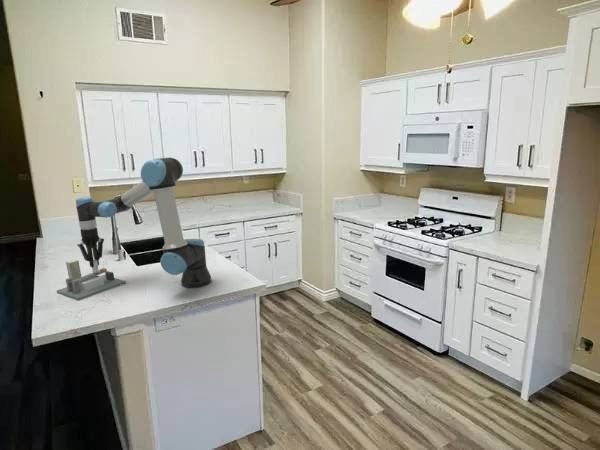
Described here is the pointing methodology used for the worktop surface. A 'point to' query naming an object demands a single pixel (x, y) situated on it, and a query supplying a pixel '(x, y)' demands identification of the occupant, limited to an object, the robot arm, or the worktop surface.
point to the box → (73, 269)
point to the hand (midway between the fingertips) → (95, 272)
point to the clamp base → (93, 291)
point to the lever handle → (92, 275)
